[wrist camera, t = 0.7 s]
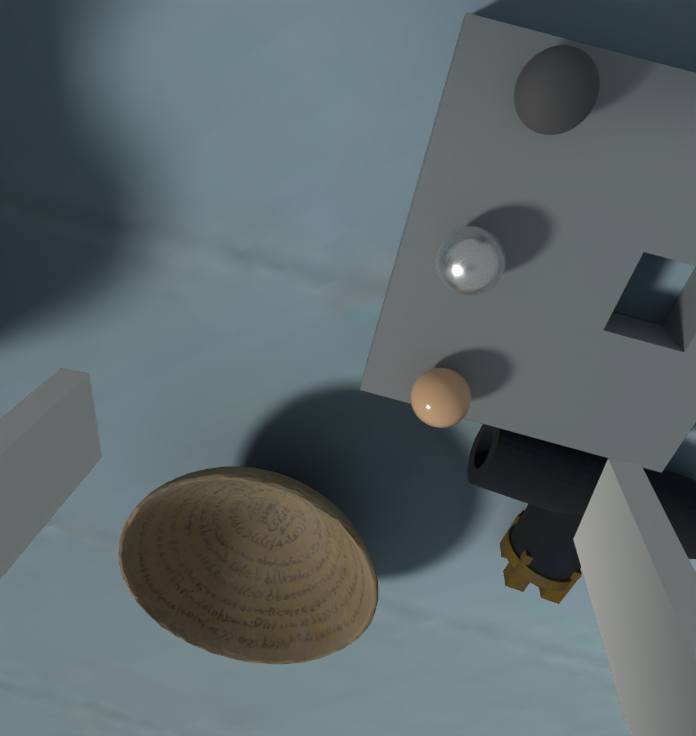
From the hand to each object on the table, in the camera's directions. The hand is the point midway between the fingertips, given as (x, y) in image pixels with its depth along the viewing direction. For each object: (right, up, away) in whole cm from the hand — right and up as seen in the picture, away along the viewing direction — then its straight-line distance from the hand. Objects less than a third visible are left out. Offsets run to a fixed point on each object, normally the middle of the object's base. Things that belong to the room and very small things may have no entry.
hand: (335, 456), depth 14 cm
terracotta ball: (+6, +1, +19) cm, 20 cm away
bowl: (-6, -9, +31) cm, 32 cm away
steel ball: (+7, +8, +15) cm, 18 cm away
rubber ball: (+9, +15, +11) cm, 21 cm away
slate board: (+13, +9, +18) cm, 23 cm away
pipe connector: (+16, -7, +26) cm, 31 cm away
